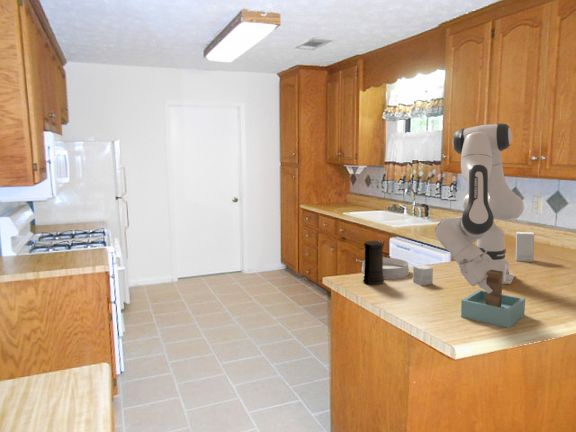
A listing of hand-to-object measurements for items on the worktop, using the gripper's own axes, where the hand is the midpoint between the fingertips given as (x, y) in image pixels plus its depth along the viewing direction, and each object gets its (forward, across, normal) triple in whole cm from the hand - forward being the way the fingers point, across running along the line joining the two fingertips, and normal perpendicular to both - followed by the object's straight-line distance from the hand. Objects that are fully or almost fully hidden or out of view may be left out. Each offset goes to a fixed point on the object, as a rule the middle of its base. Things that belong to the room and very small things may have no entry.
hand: (496, 289), depth 158 cm
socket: (+6, 0, +7) cm, 10 cm away
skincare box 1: (-19, +21, +34) cm, 44 cm away
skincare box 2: (-4, +92, +19) cm, 94 cm away
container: (-32, +8, +46) cm, 56 cm away
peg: (+6, 0, +7) cm, 10 cm away
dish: (-35, +26, +50) cm, 66 cm away
